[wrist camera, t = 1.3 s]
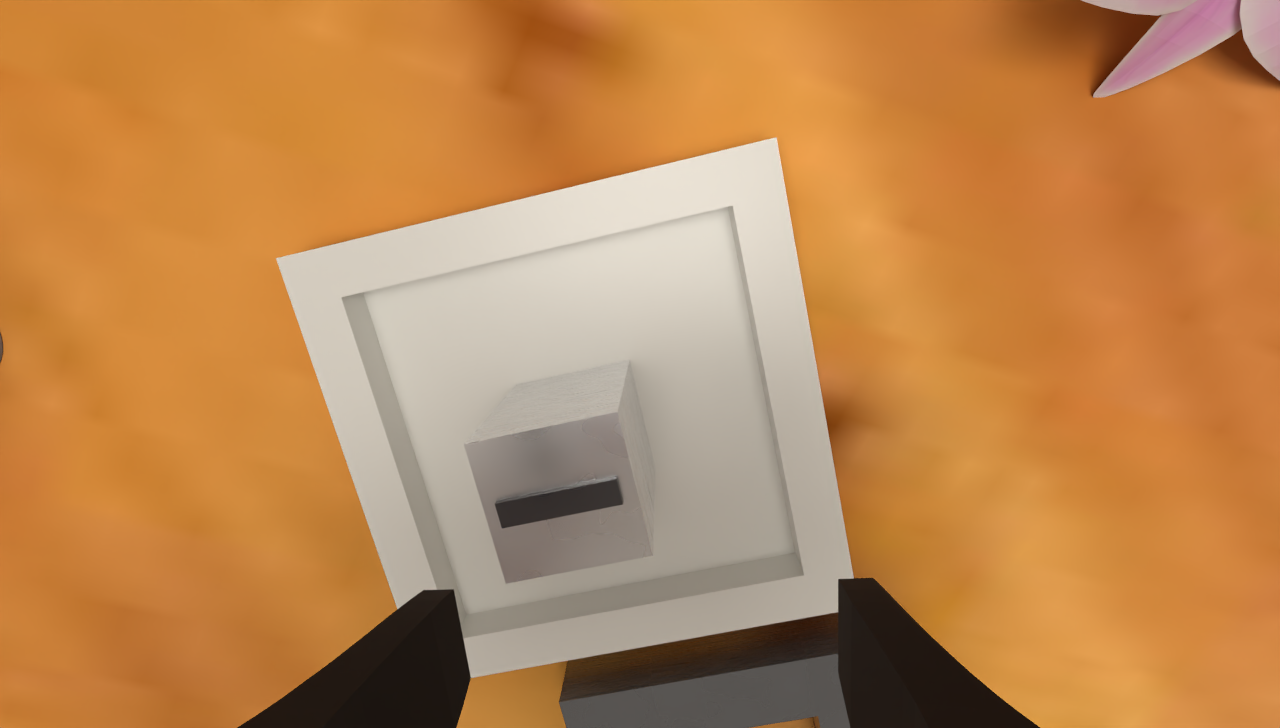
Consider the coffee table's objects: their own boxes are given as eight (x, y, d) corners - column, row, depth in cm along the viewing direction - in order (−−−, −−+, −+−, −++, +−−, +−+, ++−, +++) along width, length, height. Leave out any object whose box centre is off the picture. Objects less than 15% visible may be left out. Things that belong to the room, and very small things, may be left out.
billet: (545, 490, 23) (504, 587, 17) (516, 384, 22) (461, 446, 16) (655, 468, 23) (652, 559, 17) (629, 359, 22) (617, 414, 16)
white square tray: (442, 650, 25) (424, 686, 23) (310, 254, 22) (276, 258, 20) (843, 576, 24) (859, 608, 22) (765, 144, 21) (776, 137, 19)
